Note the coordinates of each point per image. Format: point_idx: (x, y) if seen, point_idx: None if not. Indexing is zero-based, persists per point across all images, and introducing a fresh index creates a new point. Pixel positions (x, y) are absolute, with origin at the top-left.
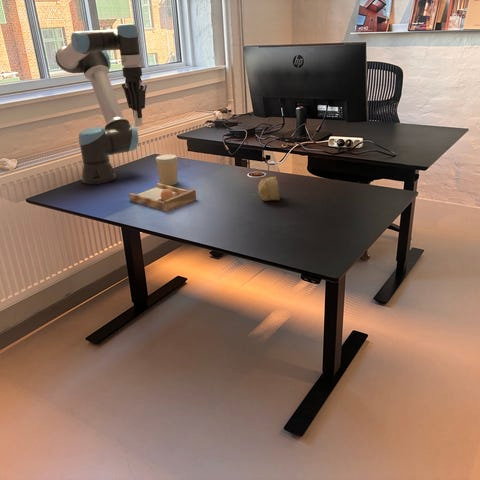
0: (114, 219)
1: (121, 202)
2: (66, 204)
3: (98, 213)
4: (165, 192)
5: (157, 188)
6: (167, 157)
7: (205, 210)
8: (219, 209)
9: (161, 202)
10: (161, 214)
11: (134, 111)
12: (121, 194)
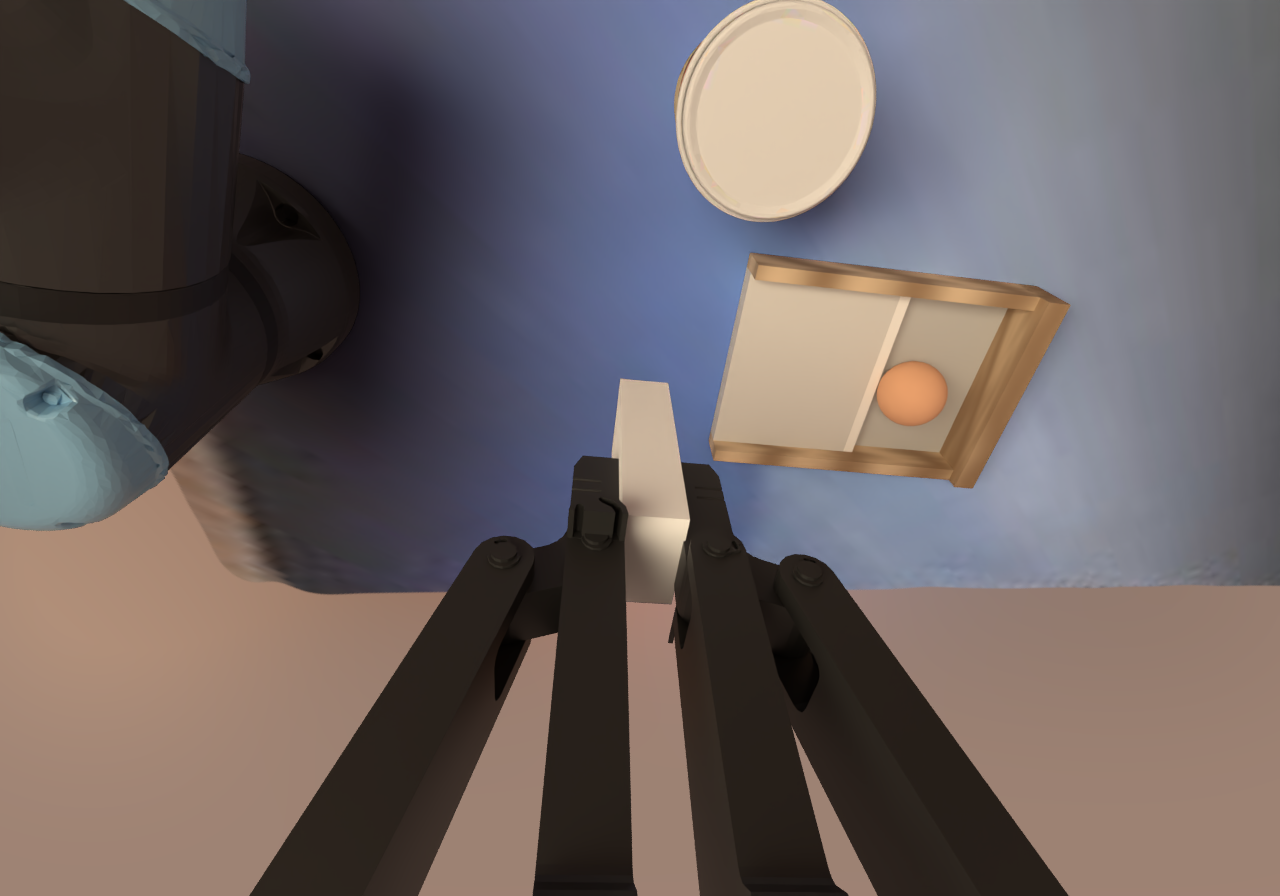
0: None
1: None
2: None
3: None
4: (925, 422)
5: (770, 291)
6: (794, 123)
7: (1122, 383)
8: (1192, 346)
9: (931, 475)
10: (935, 489)
11: (634, 589)
12: (605, 399)
